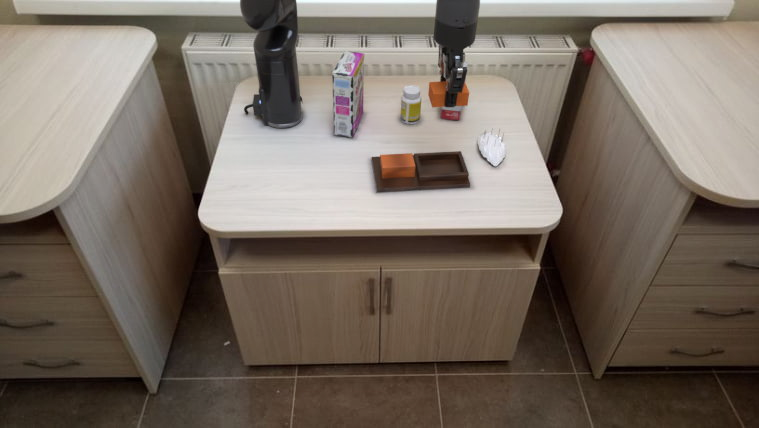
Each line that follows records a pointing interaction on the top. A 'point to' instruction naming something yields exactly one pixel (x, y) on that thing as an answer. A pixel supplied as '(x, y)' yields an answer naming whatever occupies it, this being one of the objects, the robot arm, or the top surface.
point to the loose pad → (438, 94)
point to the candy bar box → (348, 93)
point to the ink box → (452, 109)
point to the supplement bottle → (411, 104)
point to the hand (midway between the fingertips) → (447, 99)
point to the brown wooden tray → (420, 171)
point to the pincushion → (492, 147)
